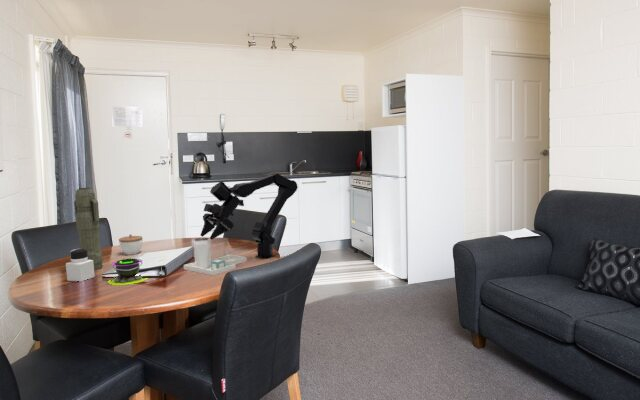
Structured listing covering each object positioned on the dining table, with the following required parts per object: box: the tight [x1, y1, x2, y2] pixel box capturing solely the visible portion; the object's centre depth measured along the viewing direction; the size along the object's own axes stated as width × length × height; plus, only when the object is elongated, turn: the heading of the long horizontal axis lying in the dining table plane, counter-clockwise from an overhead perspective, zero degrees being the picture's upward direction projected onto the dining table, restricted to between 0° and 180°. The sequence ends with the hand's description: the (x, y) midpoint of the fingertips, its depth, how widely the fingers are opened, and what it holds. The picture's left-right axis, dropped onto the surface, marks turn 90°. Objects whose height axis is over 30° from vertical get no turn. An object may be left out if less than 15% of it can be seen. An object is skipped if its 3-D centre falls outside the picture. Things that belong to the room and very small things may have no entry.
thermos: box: [73, 187, 104, 271], centre depth 202 cm, size 9×12×35 cm
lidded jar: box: [118, 234, 143, 256], centre depth 231 cm, size 11×11×9 cm
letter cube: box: [211, 259, 225, 270], centre depth 191 cm, size 4×4×4 cm
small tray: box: [212, 254, 248, 265], centre depth 205 cm, size 10×10×2 cm
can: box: [193, 237, 212, 269], centre depth 197 cm, size 6×6×12 cm
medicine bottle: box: [65, 248, 96, 283], centre depth 187 cm, size 7×7×12 cm
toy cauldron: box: [107, 251, 149, 286], centre depth 184 cm, size 15×15×11 cm
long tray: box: [183, 259, 237, 276], centre depth 195 cm, size 12×18×2 cm
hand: (205, 237), depth 196 cm, fingers open, 9 cm apart
